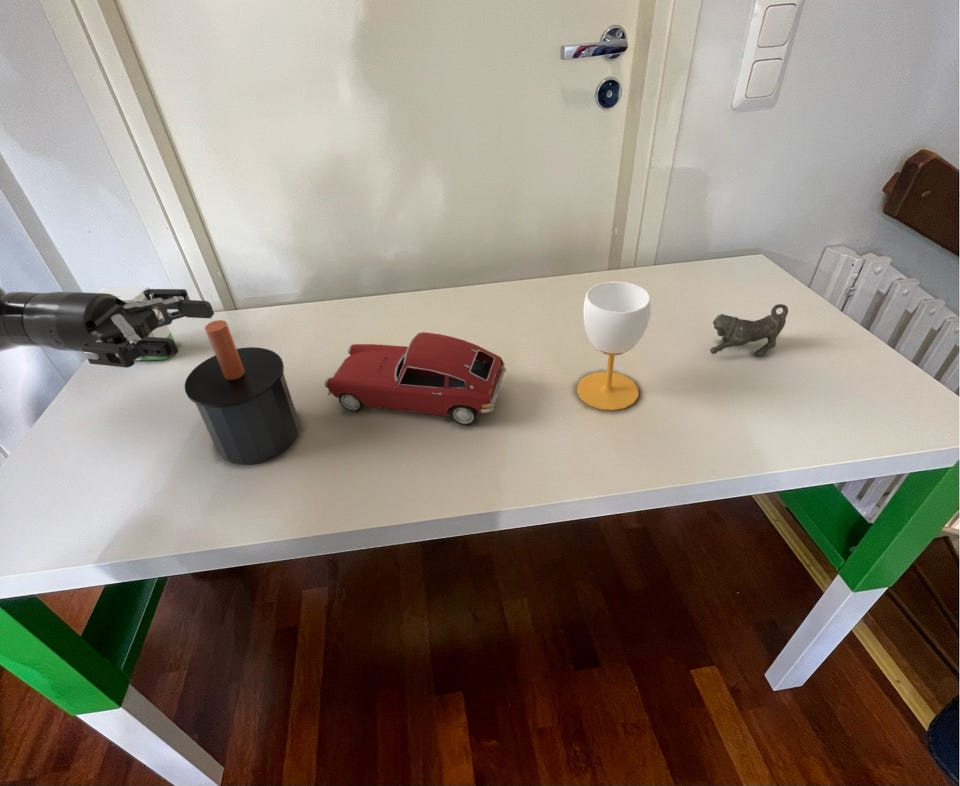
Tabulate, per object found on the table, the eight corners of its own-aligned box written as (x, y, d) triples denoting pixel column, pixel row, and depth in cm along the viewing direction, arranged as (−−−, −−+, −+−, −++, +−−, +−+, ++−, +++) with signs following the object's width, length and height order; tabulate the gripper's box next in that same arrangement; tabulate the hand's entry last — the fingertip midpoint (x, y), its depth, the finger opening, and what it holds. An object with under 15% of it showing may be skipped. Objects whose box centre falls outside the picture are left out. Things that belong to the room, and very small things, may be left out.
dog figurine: (767, 334, 98) (780, 294, 93) (785, 354, 93) (798, 313, 89) (696, 341, 97) (705, 301, 93) (710, 361, 93) (720, 321, 88)
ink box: (178, 344, 104) (151, 284, 97) (164, 361, 100) (136, 300, 93) (131, 344, 105) (101, 285, 97) (116, 361, 101) (83, 300, 93)
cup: (573, 374, 92) (578, 281, 82) (631, 371, 92) (644, 278, 82) (581, 412, 85) (588, 316, 75) (645, 409, 85) (661, 312, 75)
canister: (209, 470, 80) (181, 411, 73) (224, 415, 88) (200, 358, 82) (296, 458, 81) (275, 398, 74) (302, 405, 89) (284, 347, 83)
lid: (177, 418, 73) (149, 361, 68) (198, 360, 82) (175, 306, 77) (280, 404, 74) (261, 347, 69) (289, 348, 84) (273, 294, 78)
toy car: (355, 367, 96) (343, 314, 90) (508, 383, 91) (506, 328, 85) (326, 410, 88) (311, 355, 82) (493, 431, 83) (490, 374, 77)
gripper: (20, 327, 68) (148, 334, 66) (100, 269, 79) (212, 273, 77) (53, 379, 73) (173, 387, 71) (124, 317, 84) (230, 322, 81)
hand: (193, 327), depth 74 cm, fingers open, 8 cm apart
